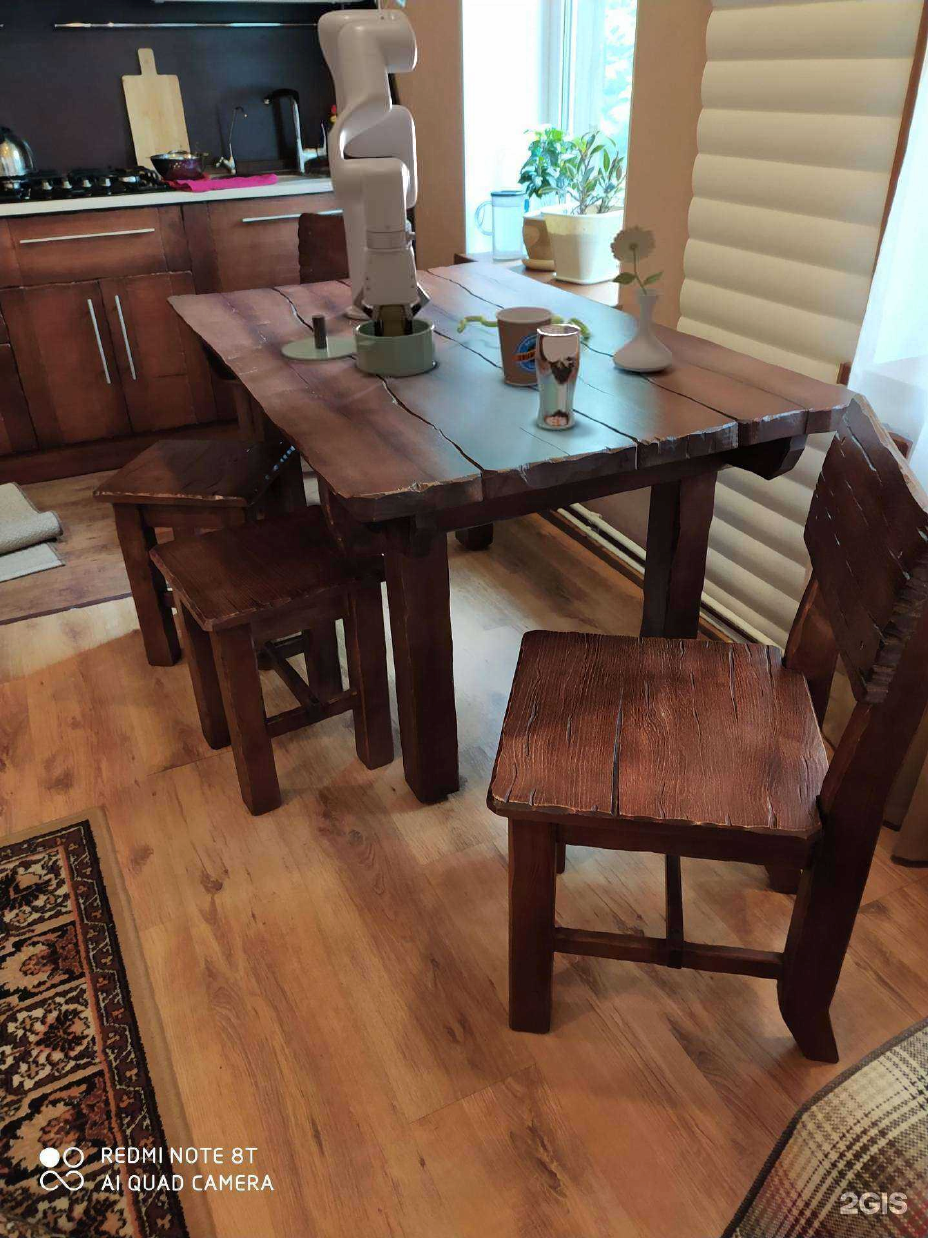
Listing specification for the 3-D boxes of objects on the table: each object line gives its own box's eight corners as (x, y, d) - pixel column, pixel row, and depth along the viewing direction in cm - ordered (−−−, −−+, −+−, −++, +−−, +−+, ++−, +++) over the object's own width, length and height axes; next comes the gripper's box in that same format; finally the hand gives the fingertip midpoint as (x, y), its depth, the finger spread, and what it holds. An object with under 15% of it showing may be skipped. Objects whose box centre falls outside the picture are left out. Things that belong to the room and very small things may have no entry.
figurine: (446, 345, 187) (445, 317, 184) (537, 321, 201) (537, 295, 198) (507, 363, 175) (507, 334, 172) (599, 336, 189) (601, 308, 186)
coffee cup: (513, 392, 160) (513, 323, 153) (485, 377, 167) (484, 311, 161) (562, 382, 163) (564, 315, 157) (533, 368, 171) (534, 303, 165)
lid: (266, 357, 183) (260, 321, 179) (315, 338, 194) (311, 303, 190) (329, 367, 176) (325, 329, 172) (377, 346, 187) (374, 310, 183)
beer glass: (531, 417, 149) (532, 324, 141) (572, 415, 149) (576, 322, 141) (537, 432, 143) (539, 336, 135) (581, 429, 143) (585, 334, 135)
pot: (333, 374, 172) (328, 335, 168) (393, 347, 187) (390, 311, 183) (399, 385, 165) (396, 345, 161) (456, 355, 180) (455, 318, 176)
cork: (406, 365, 173) (402, 306, 167) (376, 364, 174) (371, 306, 168) (414, 356, 178) (410, 298, 172) (384, 355, 179) (380, 298, 173)
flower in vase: (676, 361, 173) (690, 220, 159) (668, 379, 164) (681, 231, 150) (609, 356, 176) (617, 218, 163) (597, 374, 167) (604, 229, 154)
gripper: (432, 233, 167) (436, 332, 177) (341, 237, 166) (350, 336, 176) (434, 241, 161) (438, 343, 171) (340, 245, 160) (349, 348, 170)
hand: (394, 339), depth 174 cm, fingers closed on cork, 4 cm apart
